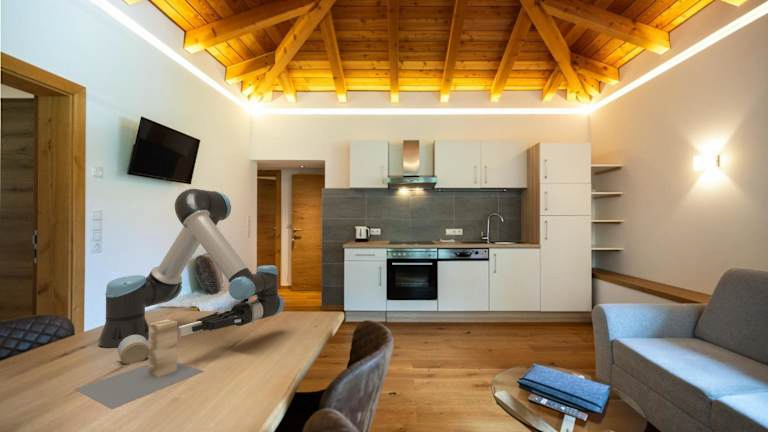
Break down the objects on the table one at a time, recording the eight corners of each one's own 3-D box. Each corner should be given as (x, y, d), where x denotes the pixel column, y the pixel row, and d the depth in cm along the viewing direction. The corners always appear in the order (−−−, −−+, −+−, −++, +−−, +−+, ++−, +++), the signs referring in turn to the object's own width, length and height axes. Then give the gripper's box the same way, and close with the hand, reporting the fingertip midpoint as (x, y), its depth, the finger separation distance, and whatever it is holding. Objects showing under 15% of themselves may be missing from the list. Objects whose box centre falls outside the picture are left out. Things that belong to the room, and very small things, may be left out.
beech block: (148, 374, 93) (148, 323, 93) (166, 367, 97) (167, 319, 98) (158, 377, 90) (158, 326, 91) (176, 370, 95) (177, 321, 95)
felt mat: (74, 392, 84) (74, 388, 84) (165, 361, 104) (165, 358, 104) (112, 413, 75) (112, 409, 75) (204, 374, 94) (204, 371, 94)
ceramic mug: (120, 369, 98) (121, 343, 98) (117, 361, 104) (118, 337, 104) (162, 360, 105) (163, 335, 106) (157, 353, 111) (158, 330, 112)
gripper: (259, 325, 115) (192, 348, 94) (234, 321, 121) (166, 341, 100) (259, 304, 115) (192, 321, 94) (234, 300, 121) (166, 316, 100)
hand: (179, 331), depth 97 cm, fingers closed
